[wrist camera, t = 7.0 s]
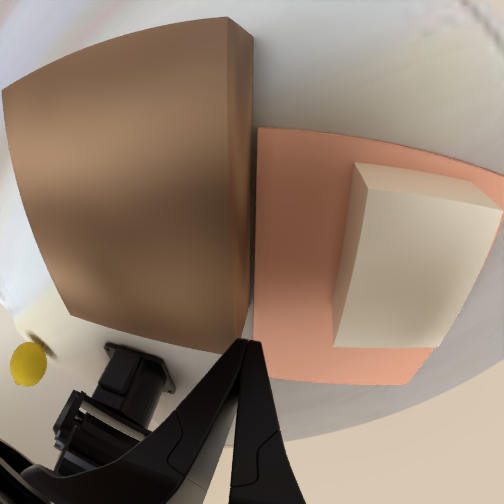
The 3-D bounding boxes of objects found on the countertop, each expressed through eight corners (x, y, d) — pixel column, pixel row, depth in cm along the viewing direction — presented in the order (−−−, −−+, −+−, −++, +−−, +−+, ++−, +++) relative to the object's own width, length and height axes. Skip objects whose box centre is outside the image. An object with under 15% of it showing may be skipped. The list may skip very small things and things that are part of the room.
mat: (405, 380, 19) (406, 384, 19) (253, 371, 21) (252, 375, 21) (511, 179, 9) (515, 181, 9) (259, 126, 11) (257, 128, 11)
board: (249, 302, 17) (235, 356, 13) (100, 276, 18) (70, 314, 15) (253, 36, 9) (227, 16, 5) (56, 76, 10) (1, 90, 7)
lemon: (61, 360, 32) (37, 401, 25) (41, 352, 33) (19, 388, 26) (41, 335, 29) (12, 378, 22) (23, 327, 30) (-4, 366, 23)
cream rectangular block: (332, 346, 13) (331, 303, 15) (438, 347, 12) (425, 307, 14) (368, 188, 8) (353, 161, 11) (503, 210, 7) (470, 181, 10)
